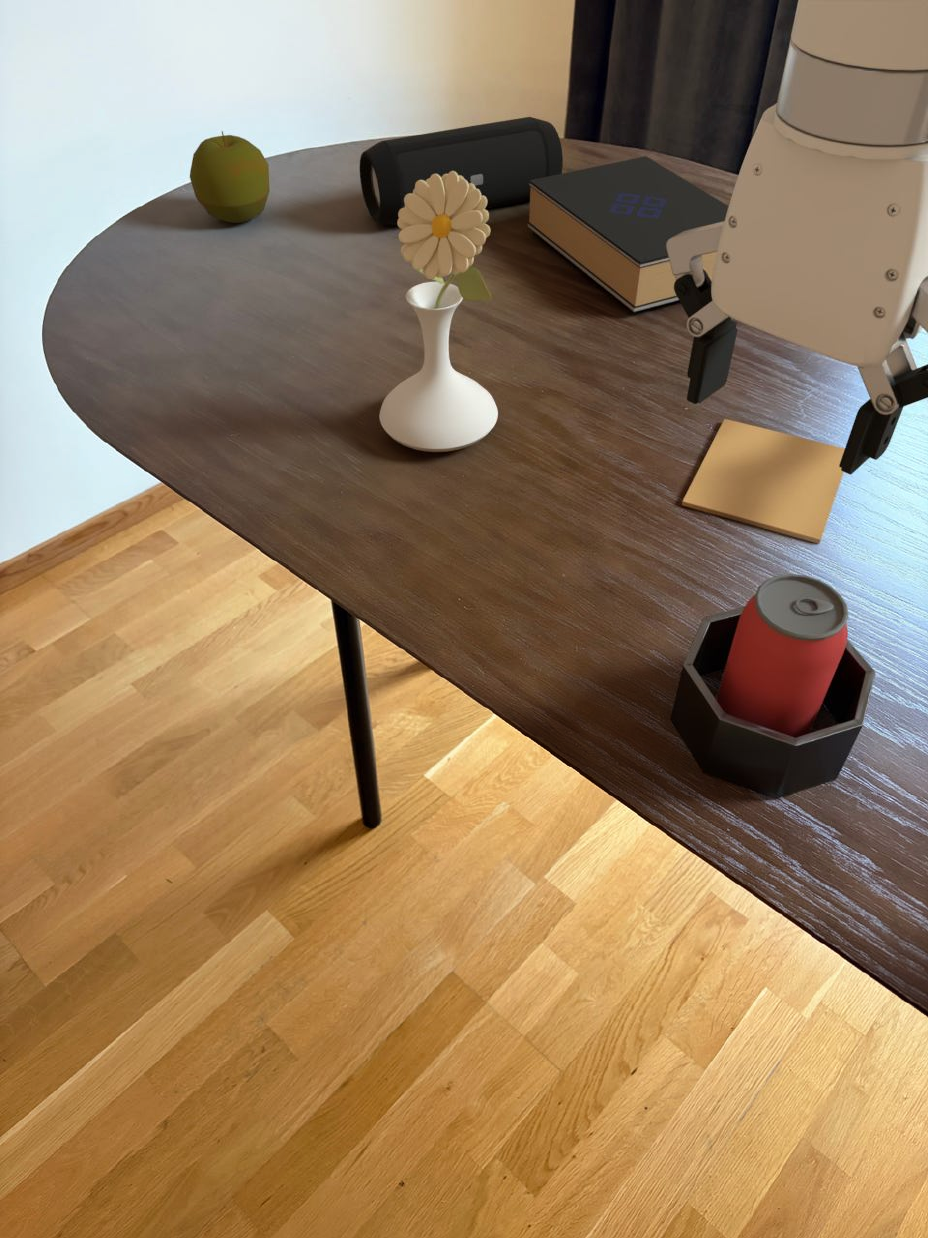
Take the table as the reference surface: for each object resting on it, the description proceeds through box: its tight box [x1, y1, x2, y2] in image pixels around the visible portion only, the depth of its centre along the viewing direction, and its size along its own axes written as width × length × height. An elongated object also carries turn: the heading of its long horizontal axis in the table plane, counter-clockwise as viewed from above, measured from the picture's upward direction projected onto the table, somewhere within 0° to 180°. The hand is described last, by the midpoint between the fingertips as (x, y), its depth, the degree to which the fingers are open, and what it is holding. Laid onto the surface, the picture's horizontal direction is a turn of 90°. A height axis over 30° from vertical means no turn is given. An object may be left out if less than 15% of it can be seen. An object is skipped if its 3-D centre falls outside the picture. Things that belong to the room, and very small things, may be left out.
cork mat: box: [681, 418, 845, 545], centre depth 85 cm, size 12×14×1 cm
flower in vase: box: [378, 171, 499, 453], centre depth 82 cm, size 13×11×25 cm
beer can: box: [715, 573, 849, 738], centre depth 62 cm, size 7×7×12 cm
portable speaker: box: [359, 116, 564, 226], centre depth 123 cm, size 26×10×10 cm, turn 113°
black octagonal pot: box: [669, 605, 876, 800], centre depth 64 cm, size 12×12×6 cm
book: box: [526, 155, 729, 313], centre depth 113 cm, size 17×25×7 cm
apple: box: [189, 130, 271, 224], centre depth 121 cm, size 10×10×11 cm
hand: (778, 425), depth 53 cm, fingers open, 9 cm apart
